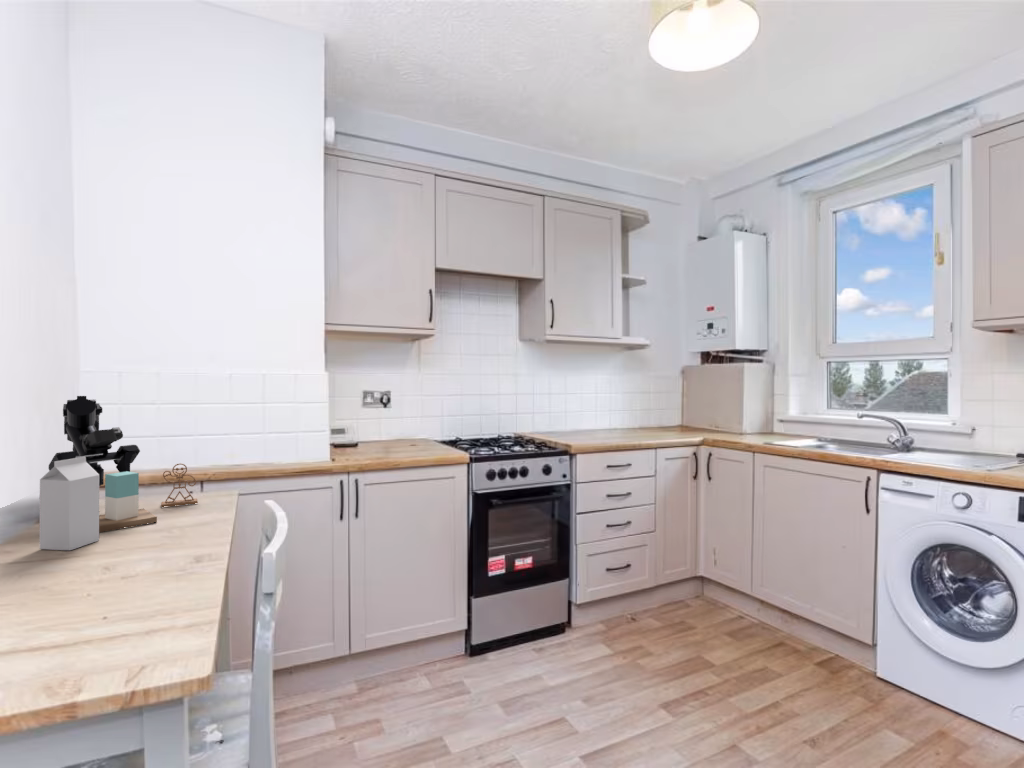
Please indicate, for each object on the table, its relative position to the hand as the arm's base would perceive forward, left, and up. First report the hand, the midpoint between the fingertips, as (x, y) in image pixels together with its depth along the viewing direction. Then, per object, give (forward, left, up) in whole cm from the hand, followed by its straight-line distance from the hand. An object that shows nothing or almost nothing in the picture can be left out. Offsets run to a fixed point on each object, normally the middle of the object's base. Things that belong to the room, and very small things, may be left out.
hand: (109, 483), depth 134 cm
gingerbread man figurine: (-5, +17, -10) cm, 20 cm away
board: (+6, +1, -9) cm, 11 cm away
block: (+6, +1, -8) cm, 10 cm away
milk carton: (+19, -11, -10) cm, 24 cm away
